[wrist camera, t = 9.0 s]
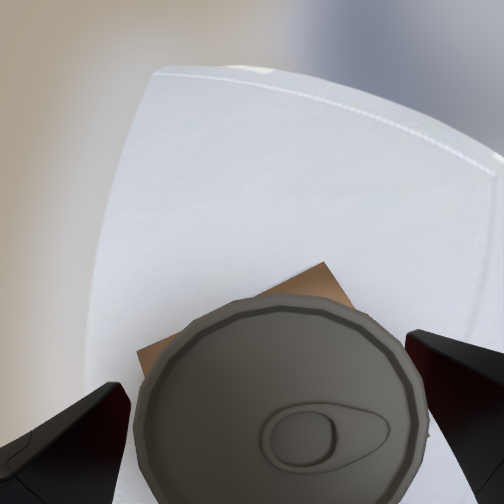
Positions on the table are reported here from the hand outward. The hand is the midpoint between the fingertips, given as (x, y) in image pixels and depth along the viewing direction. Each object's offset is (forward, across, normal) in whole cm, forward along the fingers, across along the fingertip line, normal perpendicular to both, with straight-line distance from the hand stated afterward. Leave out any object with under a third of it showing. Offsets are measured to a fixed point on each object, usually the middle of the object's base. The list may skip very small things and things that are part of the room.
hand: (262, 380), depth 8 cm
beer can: (+6, 0, +7) cm, 9 cm away
